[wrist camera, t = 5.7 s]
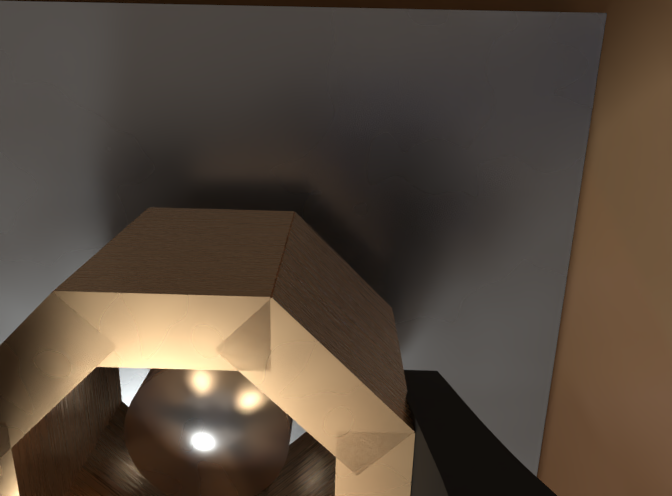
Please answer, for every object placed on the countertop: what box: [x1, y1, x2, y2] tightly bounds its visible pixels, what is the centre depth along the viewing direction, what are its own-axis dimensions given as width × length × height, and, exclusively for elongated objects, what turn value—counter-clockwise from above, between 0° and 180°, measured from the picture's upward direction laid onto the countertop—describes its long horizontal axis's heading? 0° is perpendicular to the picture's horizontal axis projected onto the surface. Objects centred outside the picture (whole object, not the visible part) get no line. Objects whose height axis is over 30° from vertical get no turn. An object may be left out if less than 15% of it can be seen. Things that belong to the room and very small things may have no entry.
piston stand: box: [0, 1, 607, 496], centre depth 11 cm, size 12×12×4 cm
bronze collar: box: [0, 207, 415, 496], centre depth 9 cm, size 6×6×3 cm
